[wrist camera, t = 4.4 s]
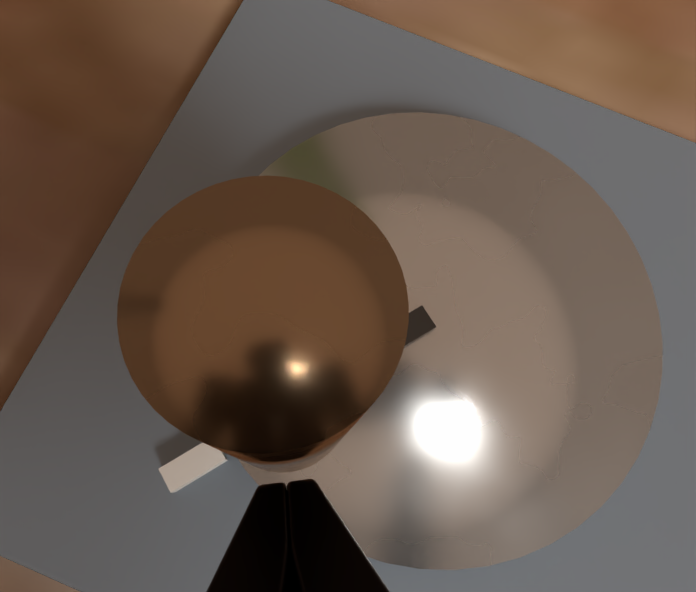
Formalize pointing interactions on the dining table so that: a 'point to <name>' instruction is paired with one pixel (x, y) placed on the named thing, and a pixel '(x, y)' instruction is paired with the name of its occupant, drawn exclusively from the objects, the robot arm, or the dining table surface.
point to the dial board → (251, 160)
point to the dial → (406, 335)
